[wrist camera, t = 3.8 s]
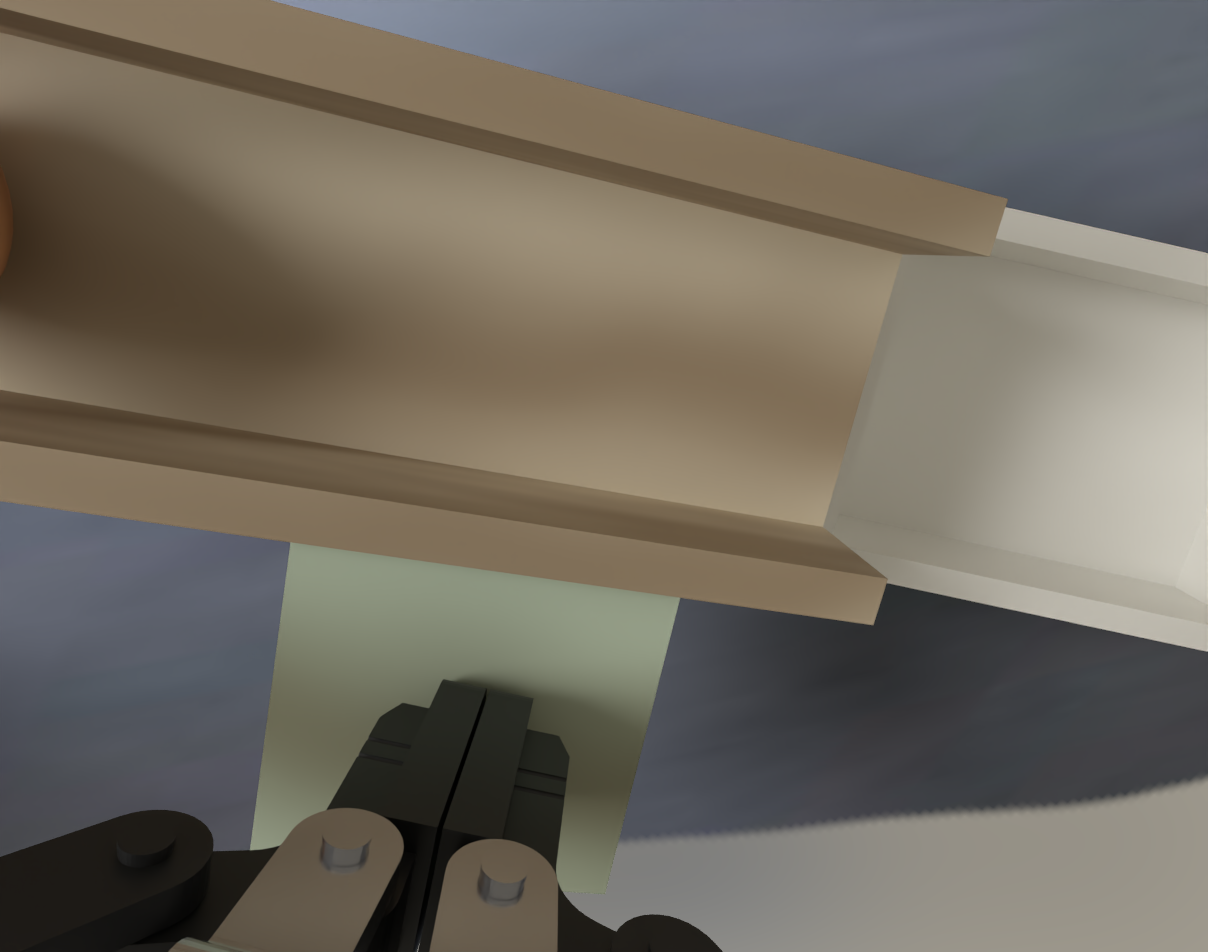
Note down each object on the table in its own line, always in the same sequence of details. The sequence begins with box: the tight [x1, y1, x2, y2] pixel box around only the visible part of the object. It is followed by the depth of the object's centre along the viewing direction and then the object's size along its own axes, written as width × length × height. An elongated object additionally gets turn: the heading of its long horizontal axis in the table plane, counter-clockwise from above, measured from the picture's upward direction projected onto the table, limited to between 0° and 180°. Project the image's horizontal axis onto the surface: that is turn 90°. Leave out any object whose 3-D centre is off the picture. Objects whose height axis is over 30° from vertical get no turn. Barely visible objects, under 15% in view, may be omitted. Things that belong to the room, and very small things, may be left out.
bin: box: [823, 207, 1208, 652], centre depth 19 cm, size 8×11×4 cm
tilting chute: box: [0, 0, 1008, 894], centre depth 13 cm, size 13×24×6 cm, turn 78°
